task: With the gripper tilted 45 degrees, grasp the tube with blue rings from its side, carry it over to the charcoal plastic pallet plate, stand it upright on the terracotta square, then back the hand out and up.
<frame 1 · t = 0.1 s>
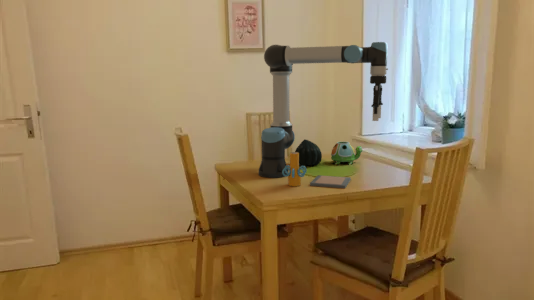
hand: (376, 119, 207), 28 cm above the table, tool pointing down, fingers open, 13 cm apart
squash: (307, 165, 238), on the table
tube with blue rings: (294, 185, 194), on the table
turtle holder: (345, 163, 243), on the table
pallet: (330, 182, 198), on the table
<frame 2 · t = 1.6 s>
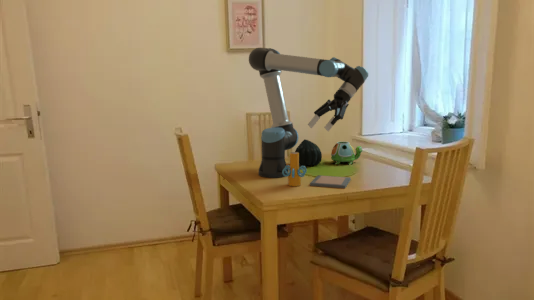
hand: (317, 127, 196), 26 cm above the table, tool tilted 45°, fingers open, 13 cm apart
nothing on the table moved.
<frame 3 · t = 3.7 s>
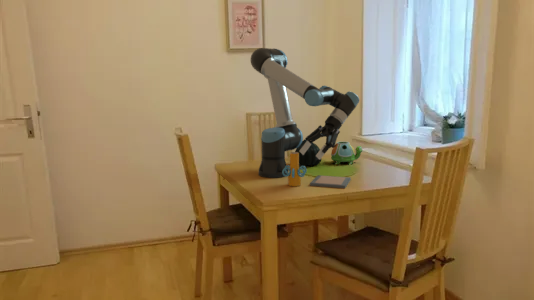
hand: (309, 155, 194), 13 cm above the table, tool tilted 45°, fingers open, 13 cm apart
nothing on the table moved.
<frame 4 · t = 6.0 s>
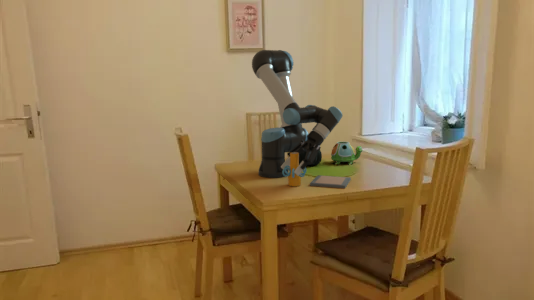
hand: (289, 171, 192), 7 cm above the table, tool tilted 45°, fingers closed on tube with blue rings, 11 cm apart
tube with blue rings: (294, 185, 194), on the table, touching gripper
everything else where it was.
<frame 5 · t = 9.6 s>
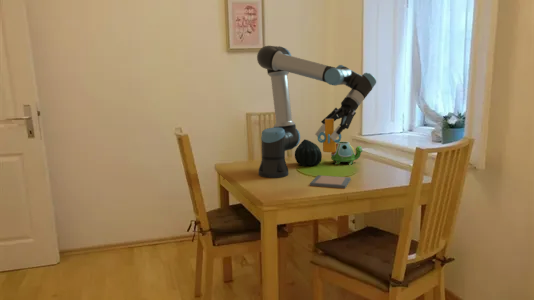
hand: (324, 137, 192), 22 cm above the table, tool tilted 45°, fingers closed on tube with blue rings, 11 cm apart
tube with blue rings: (329, 151, 195), point 15 cm above the table, touching gripper
everything else where it was.
when the fingers open (9 cm above the table, at t = 13.1 s): tube with blue rings drops 1 cm, resting on pallet.
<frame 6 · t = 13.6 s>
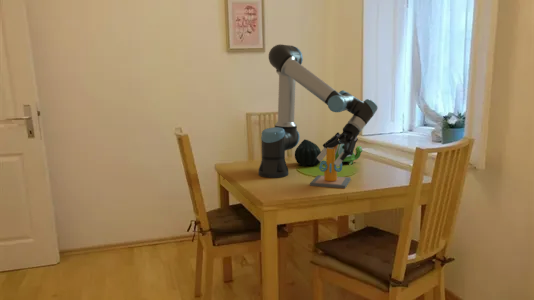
hand: (326, 162, 195), 10 cm above the table, tool tilted 45°, fingers open, 13 cm apart
tube with blue rings: (330, 180, 198), point 1 cm above the table, touching pallet
everything else where it was.
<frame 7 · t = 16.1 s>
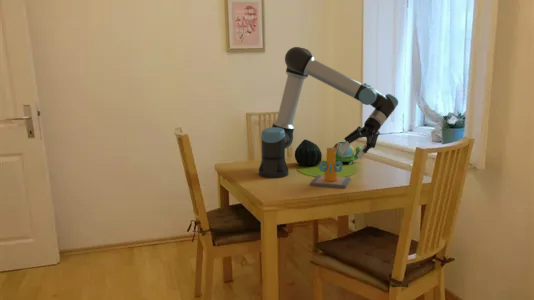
hand: (349, 155, 201), 12 cm above the table, tool tilted 45°, fingers open, 13 cm apart
nothing on the table moved.
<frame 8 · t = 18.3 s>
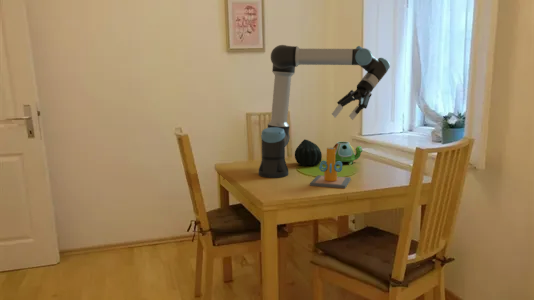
hand: (341, 116, 204), 30 cm above the table, tool tilted 45°, fingers open, 13 cm apart
nothing on the table moved.
at the end: tube with blue rings inside the target area on the pallet (0.0 cm from its centre), point 1.1 cm above the pallet's base; tube with blue rings tilted 0°; the gripper is holding nothing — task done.
